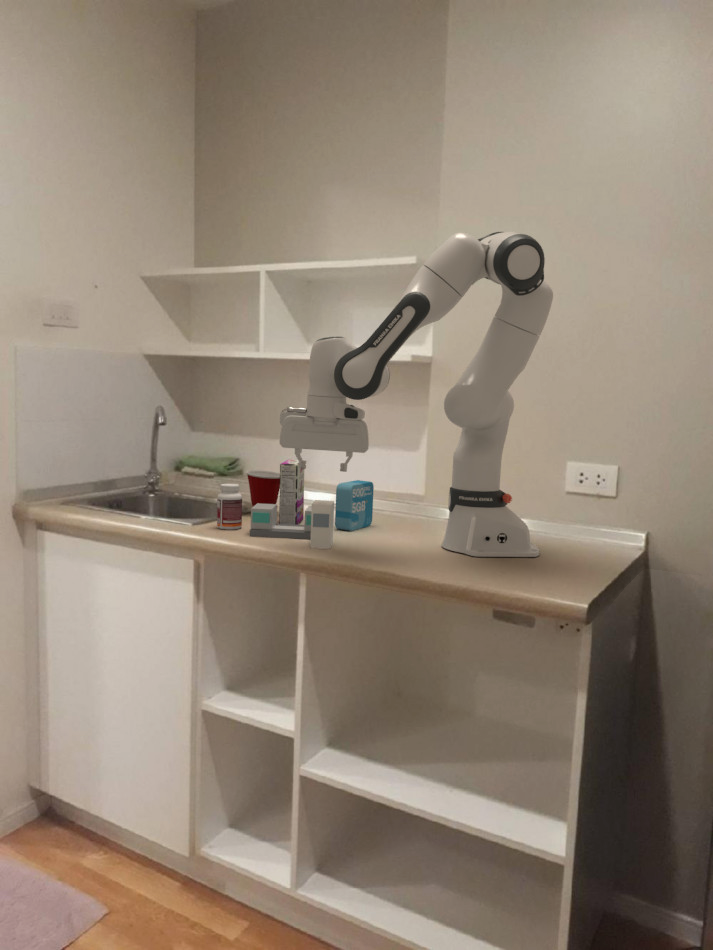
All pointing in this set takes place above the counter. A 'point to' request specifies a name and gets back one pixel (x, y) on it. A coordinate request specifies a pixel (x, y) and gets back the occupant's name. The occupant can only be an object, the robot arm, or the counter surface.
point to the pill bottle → (229, 507)
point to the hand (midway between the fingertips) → (322, 470)
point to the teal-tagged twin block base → (268, 527)
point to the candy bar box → (291, 493)
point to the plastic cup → (263, 486)
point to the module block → (322, 524)
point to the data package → (354, 505)
